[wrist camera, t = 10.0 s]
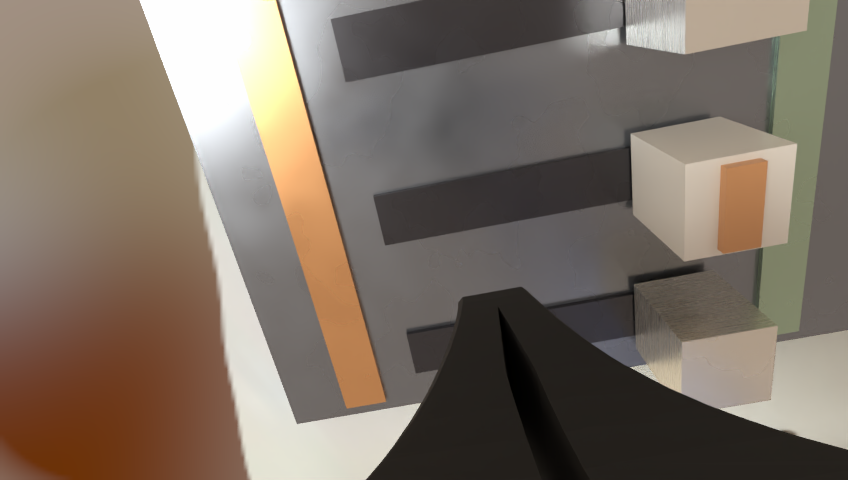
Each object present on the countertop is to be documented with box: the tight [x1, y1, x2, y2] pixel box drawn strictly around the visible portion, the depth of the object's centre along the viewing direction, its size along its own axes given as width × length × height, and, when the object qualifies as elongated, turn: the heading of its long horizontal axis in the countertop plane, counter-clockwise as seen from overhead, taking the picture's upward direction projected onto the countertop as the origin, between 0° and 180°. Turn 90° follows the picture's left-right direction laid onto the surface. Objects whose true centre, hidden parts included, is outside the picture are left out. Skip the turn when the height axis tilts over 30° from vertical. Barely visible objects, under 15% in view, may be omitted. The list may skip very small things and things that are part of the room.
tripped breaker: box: [631, 117, 797, 262], centre depth 15 cm, size 3×3×4 cm
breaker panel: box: [140, 0, 848, 424], centre depth 17 cm, size 16×22×5 cm
